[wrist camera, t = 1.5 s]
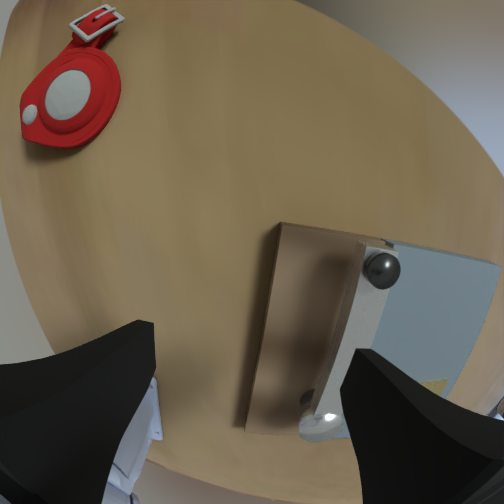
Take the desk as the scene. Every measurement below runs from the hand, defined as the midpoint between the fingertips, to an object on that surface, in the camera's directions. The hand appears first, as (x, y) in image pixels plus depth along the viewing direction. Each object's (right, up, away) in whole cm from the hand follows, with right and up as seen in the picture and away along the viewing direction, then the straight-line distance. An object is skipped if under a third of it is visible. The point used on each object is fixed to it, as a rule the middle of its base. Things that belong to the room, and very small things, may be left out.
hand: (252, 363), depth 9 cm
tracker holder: (-13, +17, +7) cm, 23 cm away
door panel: (+14, -5, +11) cm, 18 cm away
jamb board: (+4, -3, +10) cm, 12 cm away
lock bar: (+6, -3, +7) cm, 9 cm away
